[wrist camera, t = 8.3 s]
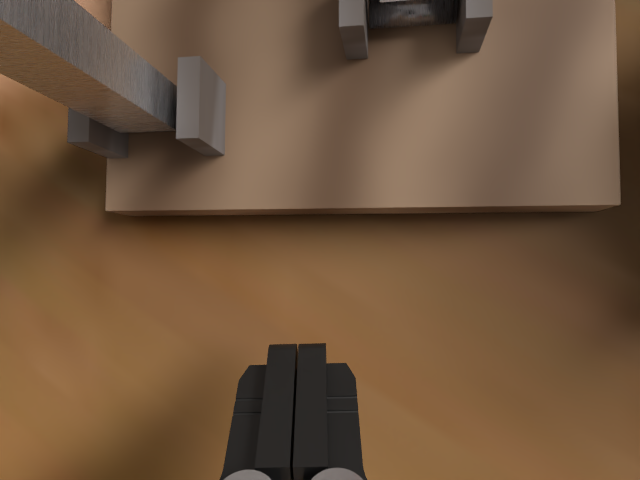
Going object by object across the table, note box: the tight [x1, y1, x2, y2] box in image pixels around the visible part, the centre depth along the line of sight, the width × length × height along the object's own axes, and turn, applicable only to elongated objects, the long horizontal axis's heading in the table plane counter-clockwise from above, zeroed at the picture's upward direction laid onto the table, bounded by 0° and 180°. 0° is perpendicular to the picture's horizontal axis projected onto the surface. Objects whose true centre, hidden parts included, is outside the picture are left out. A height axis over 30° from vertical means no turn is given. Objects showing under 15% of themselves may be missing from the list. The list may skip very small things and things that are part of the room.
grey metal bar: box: [0, 0, 177, 133], centre depth 13 cm, size 3×3×12 cm
